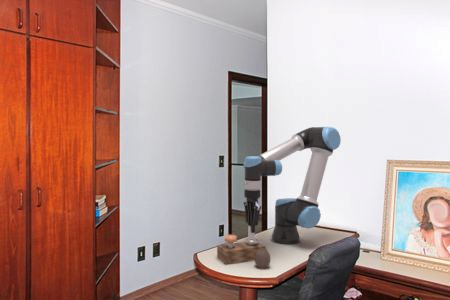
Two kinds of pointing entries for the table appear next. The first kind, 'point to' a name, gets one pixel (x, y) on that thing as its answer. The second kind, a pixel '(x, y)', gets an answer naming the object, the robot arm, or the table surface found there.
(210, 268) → the table surface
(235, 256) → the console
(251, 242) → the grey plunger
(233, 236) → the terracotta plunger
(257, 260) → the vase
